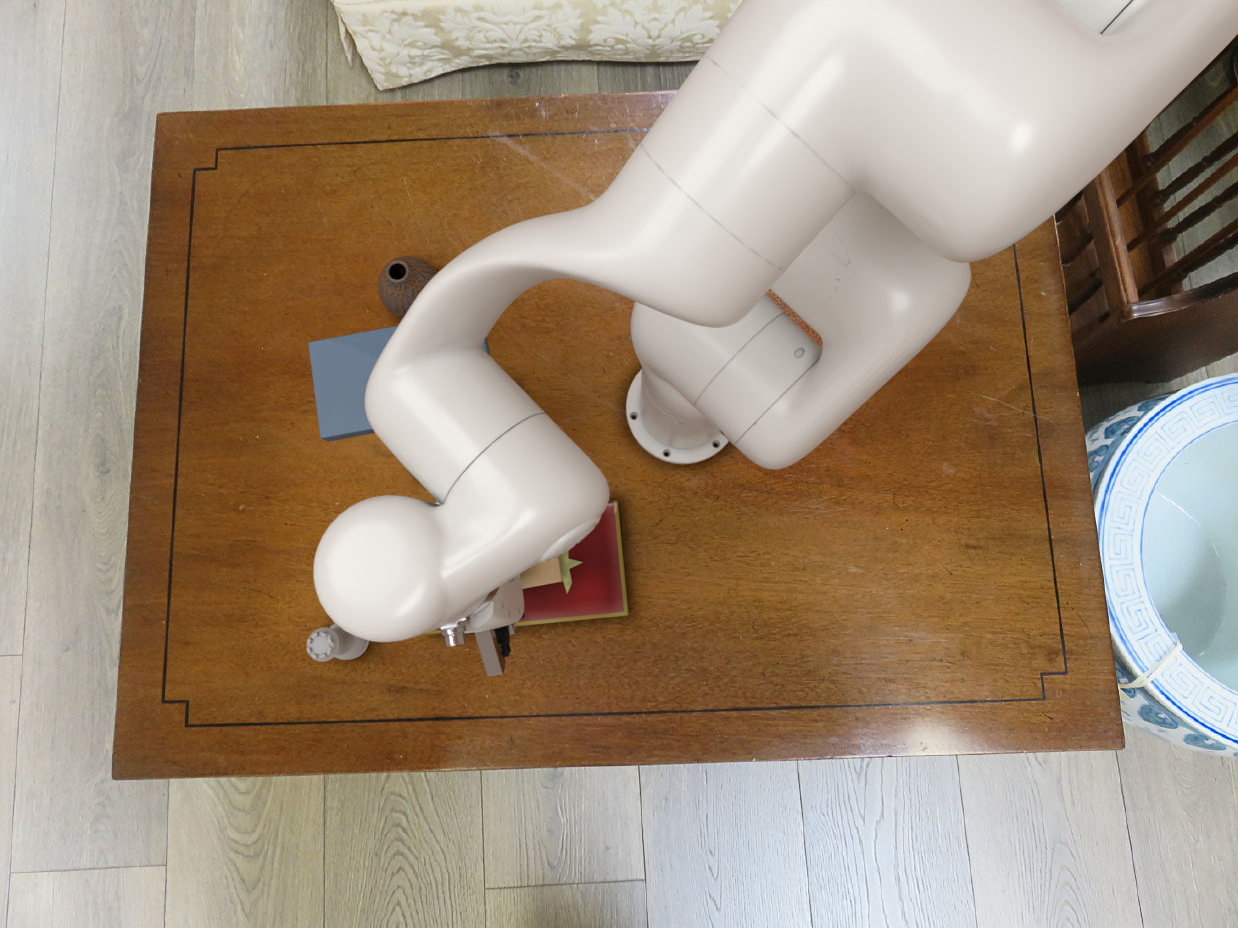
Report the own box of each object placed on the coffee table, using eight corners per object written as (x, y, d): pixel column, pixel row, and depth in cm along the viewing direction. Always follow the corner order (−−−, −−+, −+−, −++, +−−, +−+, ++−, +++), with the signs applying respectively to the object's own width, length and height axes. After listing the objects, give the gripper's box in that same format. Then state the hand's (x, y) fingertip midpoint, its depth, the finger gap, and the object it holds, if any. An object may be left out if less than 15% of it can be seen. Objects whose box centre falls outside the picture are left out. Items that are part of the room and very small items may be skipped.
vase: (449, 331, 83) (428, 303, 74) (389, 330, 83) (361, 302, 74) (452, 274, 84) (432, 239, 75) (393, 273, 84) (366, 239, 75)
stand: (524, 385, 82) (480, 310, 58) (535, 454, 81) (496, 405, 57) (401, 408, 82) (307, 342, 58) (411, 477, 80) (320, 438, 57)
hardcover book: (428, 520, 80) (416, 517, 76) (617, 502, 80) (617, 498, 75) (434, 631, 78) (423, 635, 74) (628, 613, 78) (628, 615, 74)
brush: (557, 538, 75) (547, 533, 65) (565, 580, 74) (555, 582, 65) (453, 558, 75) (427, 556, 65) (459, 600, 74) (434, 605, 65)
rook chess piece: (355, 667, 78) (324, 678, 70) (321, 644, 78) (286, 652, 70) (379, 631, 78) (350, 638, 70) (345, 608, 78) (313, 613, 71)
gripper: (523, 687, 46) (556, 652, 63) (480, 426, 49) (523, 459, 66) (409, 709, 47) (472, 667, 64) (371, 447, 49) (442, 475, 66)
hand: (498, 562), depth 65 cm, fingers open, 9 cm apart
